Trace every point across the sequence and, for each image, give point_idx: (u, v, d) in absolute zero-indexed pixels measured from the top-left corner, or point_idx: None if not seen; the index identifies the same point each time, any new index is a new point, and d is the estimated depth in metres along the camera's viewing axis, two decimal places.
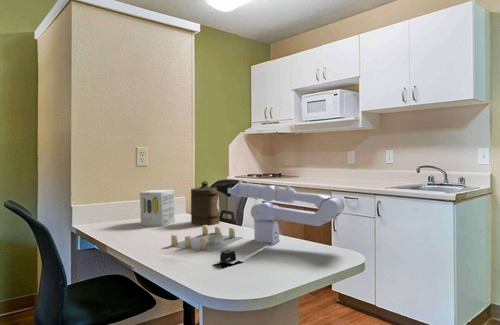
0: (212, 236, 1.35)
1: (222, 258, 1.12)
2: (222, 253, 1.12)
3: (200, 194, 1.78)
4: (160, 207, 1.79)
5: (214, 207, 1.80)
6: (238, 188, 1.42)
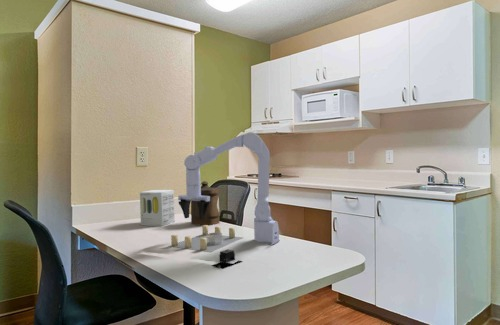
0: (212, 236, 1.35)
1: (222, 258, 1.12)
2: (221, 253, 1.12)
3: None
4: (160, 207, 1.79)
5: (214, 207, 1.80)
6: (198, 195, 1.40)
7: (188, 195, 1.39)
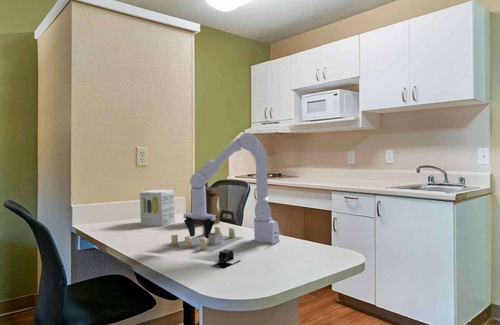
0: (212, 236, 1.35)
1: (221, 258, 1.12)
2: (221, 253, 1.12)
3: None
4: (160, 207, 1.79)
5: (214, 207, 1.80)
6: (203, 213, 1.38)
7: (194, 214, 1.38)
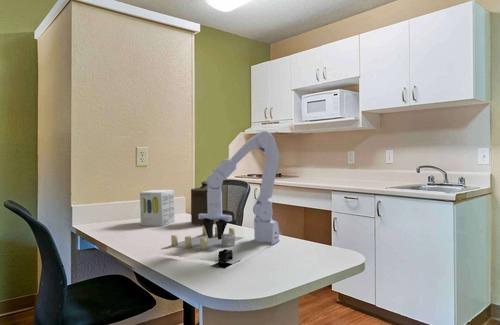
0: (225, 237, 1.32)
1: (221, 258, 1.12)
2: (221, 253, 1.12)
3: (200, 194, 1.78)
4: (160, 207, 1.79)
5: None
6: (219, 214, 1.35)
7: (209, 214, 1.35)
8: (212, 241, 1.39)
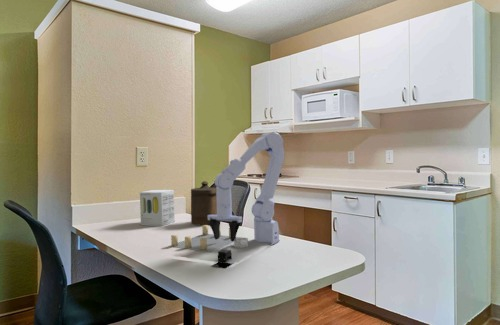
0: (238, 241, 1.29)
1: (221, 258, 1.12)
2: (220, 253, 1.12)
3: (200, 194, 1.78)
4: (160, 207, 1.79)
5: (214, 207, 1.80)
6: (229, 215, 1.33)
7: (219, 215, 1.32)
8: (212, 241, 1.39)
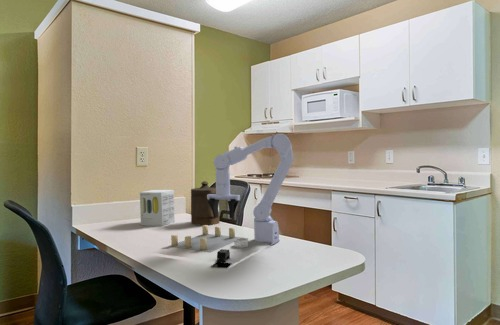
0: (238, 242, 1.29)
1: (220, 258, 1.12)
2: (219, 253, 1.12)
3: (200, 194, 1.78)
4: (160, 207, 1.79)
5: None
6: (228, 194, 1.41)
7: (218, 194, 1.40)
8: (212, 241, 1.39)
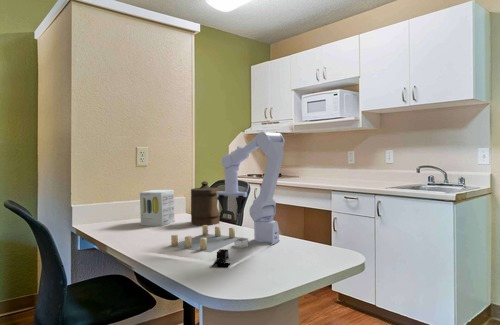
0: (238, 242, 1.29)
1: (220, 258, 1.12)
2: (219, 253, 1.12)
3: (200, 194, 1.78)
4: (160, 207, 1.79)
5: (214, 207, 1.80)
6: (236, 191, 1.52)
7: (227, 191, 1.52)
8: (212, 241, 1.39)
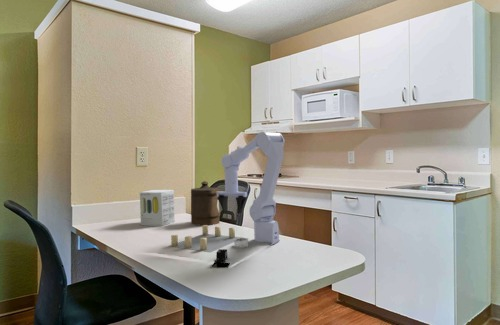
0: (238, 242, 1.29)
1: (220, 258, 1.12)
2: (219, 253, 1.12)
3: (200, 194, 1.78)
4: (160, 207, 1.79)
5: (214, 207, 1.80)
6: (236, 191, 1.52)
7: (227, 191, 1.52)
8: (212, 241, 1.39)
